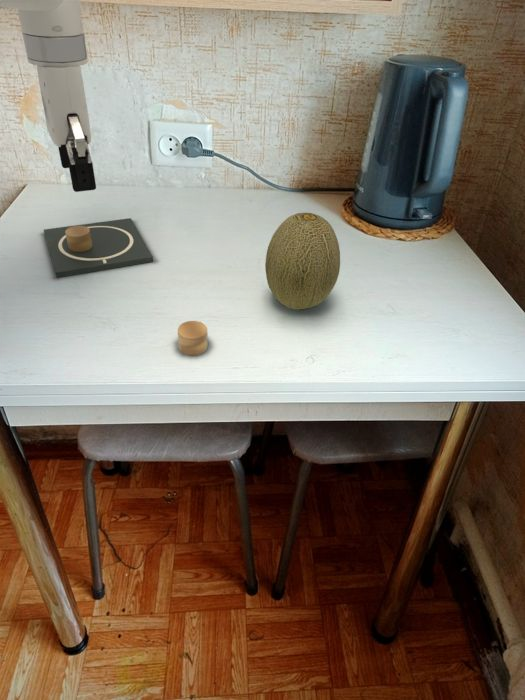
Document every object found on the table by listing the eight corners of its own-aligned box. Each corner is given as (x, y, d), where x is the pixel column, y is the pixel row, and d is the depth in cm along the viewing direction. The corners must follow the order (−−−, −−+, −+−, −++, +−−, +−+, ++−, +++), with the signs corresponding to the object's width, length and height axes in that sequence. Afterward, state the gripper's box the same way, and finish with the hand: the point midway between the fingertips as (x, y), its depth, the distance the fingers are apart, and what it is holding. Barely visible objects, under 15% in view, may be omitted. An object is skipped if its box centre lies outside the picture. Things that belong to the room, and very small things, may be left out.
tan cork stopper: (183, 358, 69) (182, 341, 67) (175, 341, 72) (173, 324, 70) (211, 351, 71) (211, 334, 69) (201, 335, 73) (201, 318, 71)
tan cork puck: (70, 253, 87) (67, 237, 85) (66, 243, 89) (63, 227, 87) (94, 250, 88) (91, 234, 86) (90, 239, 91) (87, 224, 89)
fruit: (328, 329, 76) (344, 239, 66) (255, 317, 77) (261, 226, 68) (336, 290, 85) (351, 204, 75) (270, 279, 86) (277, 194, 77)
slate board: (56, 277, 83) (55, 271, 82) (44, 234, 94) (43, 228, 93) (153, 261, 88) (152, 255, 88) (131, 222, 99) (130, 217, 99)
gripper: (18, 37, 71) (44, 161, 82) (34, 63, 59) (62, 203, 70) (74, 37, 74) (92, 156, 85) (99, 61, 62) (117, 197, 73)
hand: (78, 178), depth 77 cm, fingers open, 9 cm apart
